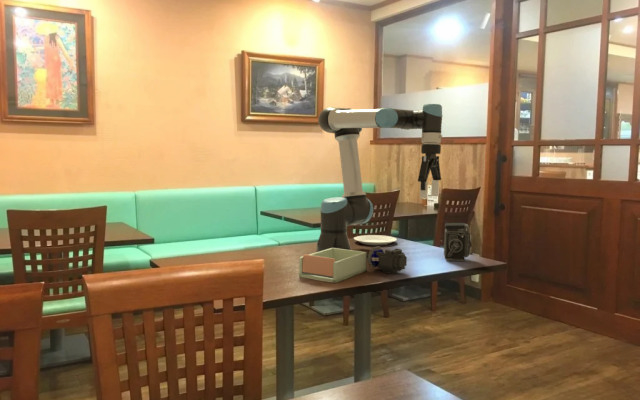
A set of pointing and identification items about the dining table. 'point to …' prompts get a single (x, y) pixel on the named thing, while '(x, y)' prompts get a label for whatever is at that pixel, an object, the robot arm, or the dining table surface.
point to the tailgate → (318, 266)
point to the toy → (387, 259)
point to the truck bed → (339, 264)
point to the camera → (457, 241)
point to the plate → (375, 239)
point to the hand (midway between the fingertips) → (429, 197)
